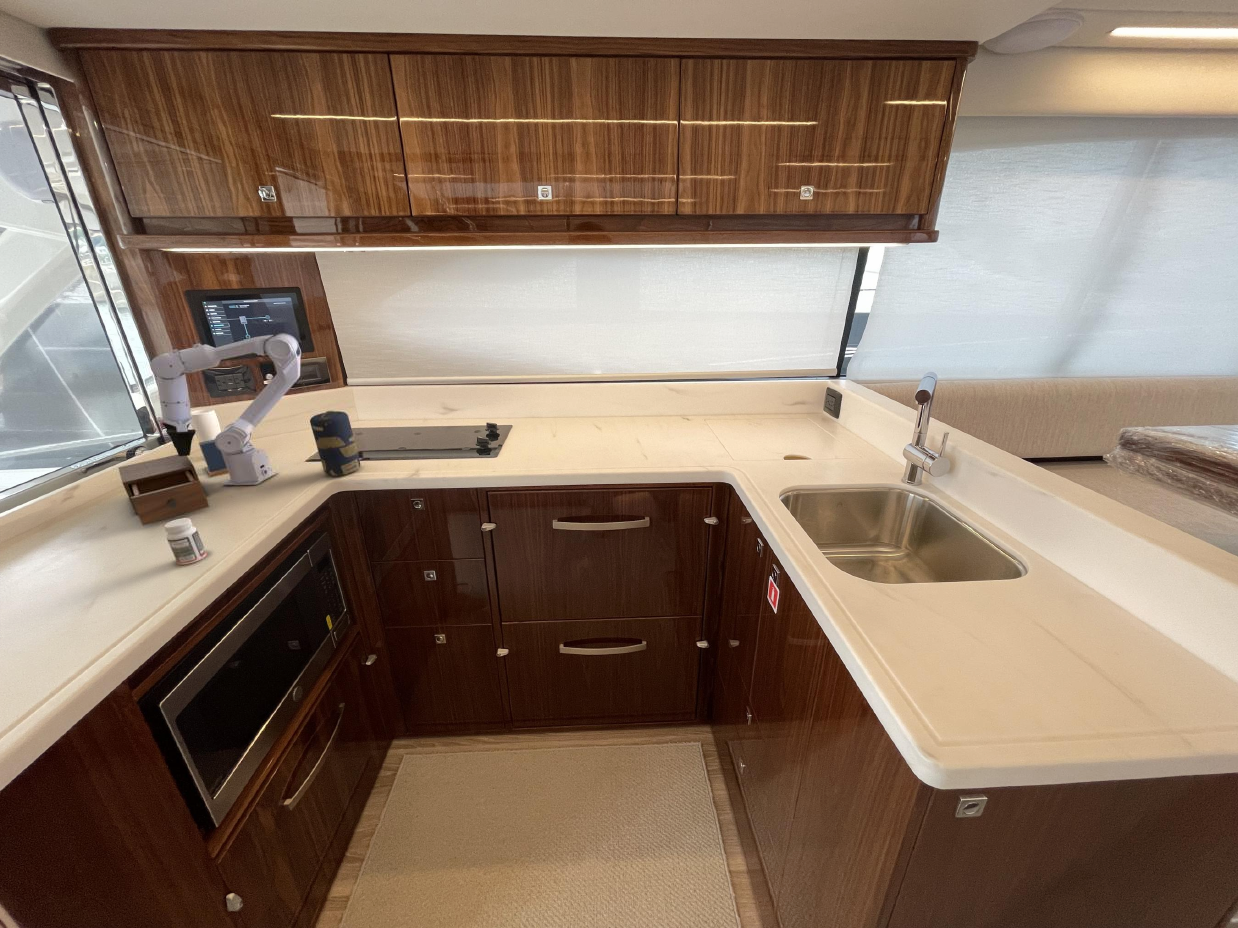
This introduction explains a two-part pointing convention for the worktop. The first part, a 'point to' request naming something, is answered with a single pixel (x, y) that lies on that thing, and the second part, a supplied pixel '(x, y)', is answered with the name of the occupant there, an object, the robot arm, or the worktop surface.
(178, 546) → the pill bottle
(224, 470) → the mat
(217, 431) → the white tapered cylinder
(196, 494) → the drawer
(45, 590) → the worktop surface
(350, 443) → the canister
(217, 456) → the book
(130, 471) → the wooden box
